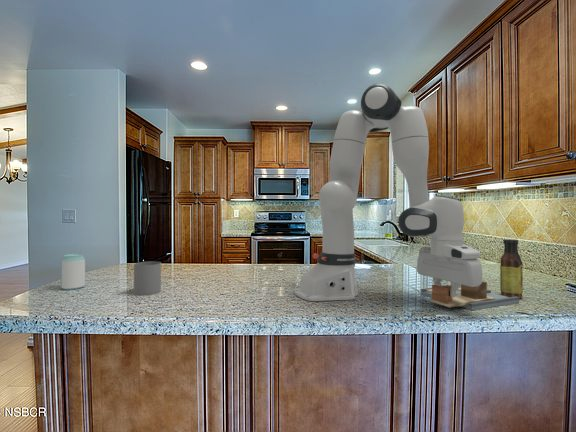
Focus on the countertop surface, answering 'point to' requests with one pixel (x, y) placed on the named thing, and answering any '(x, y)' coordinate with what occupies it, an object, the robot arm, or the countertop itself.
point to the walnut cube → (475, 291)
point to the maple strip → (443, 299)
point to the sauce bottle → (511, 270)
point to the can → (72, 271)
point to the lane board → (483, 304)
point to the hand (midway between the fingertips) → (445, 294)
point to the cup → (147, 278)
